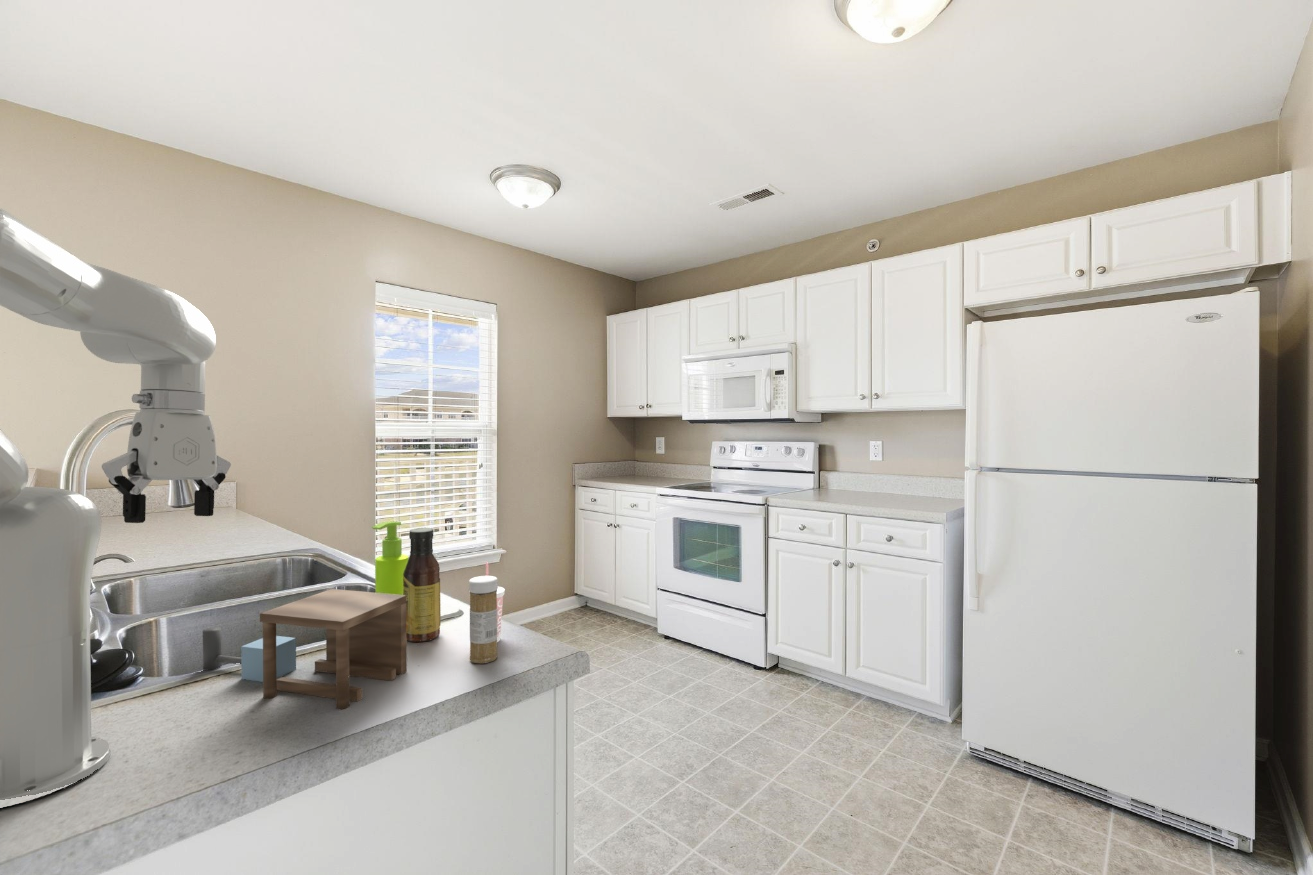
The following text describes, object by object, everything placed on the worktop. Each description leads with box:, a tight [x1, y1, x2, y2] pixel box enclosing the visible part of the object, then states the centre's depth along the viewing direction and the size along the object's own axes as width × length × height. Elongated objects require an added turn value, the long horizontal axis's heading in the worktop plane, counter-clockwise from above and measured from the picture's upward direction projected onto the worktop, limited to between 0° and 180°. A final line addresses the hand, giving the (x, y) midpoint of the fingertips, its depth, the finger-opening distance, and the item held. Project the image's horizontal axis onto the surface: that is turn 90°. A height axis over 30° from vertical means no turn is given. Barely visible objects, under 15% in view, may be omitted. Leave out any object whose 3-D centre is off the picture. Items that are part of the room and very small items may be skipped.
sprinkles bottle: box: [468, 575, 499, 664], centre depth 97 cm, size 5×5×14 cm
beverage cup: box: [468, 562, 506, 643], centre depth 106 cm, size 6×6×14 cm
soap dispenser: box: [371, 520, 409, 595], centre depth 114 cm, size 6×7×20 cm
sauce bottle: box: [403, 527, 442, 643], centre depth 107 cm, size 7×6×20 cm
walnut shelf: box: [259, 588, 408, 710], centre depth 88 cm, size 13×14×12 cm
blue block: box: [202, 626, 297, 683], centre depth 93 cm, size 5×15×6 cm, turn 77°
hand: (170, 518), depth 88 cm, fingers open, 9 cm apart
